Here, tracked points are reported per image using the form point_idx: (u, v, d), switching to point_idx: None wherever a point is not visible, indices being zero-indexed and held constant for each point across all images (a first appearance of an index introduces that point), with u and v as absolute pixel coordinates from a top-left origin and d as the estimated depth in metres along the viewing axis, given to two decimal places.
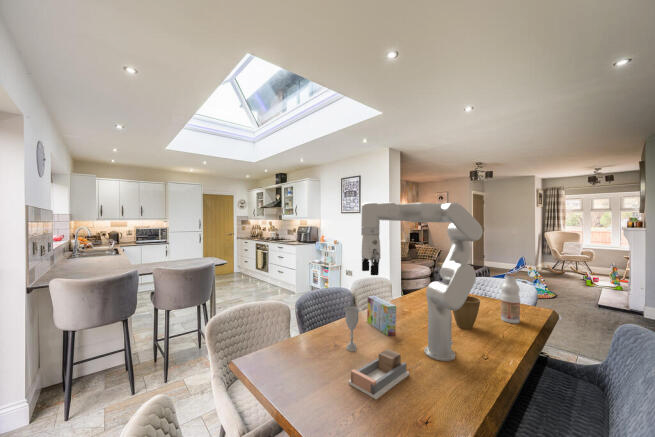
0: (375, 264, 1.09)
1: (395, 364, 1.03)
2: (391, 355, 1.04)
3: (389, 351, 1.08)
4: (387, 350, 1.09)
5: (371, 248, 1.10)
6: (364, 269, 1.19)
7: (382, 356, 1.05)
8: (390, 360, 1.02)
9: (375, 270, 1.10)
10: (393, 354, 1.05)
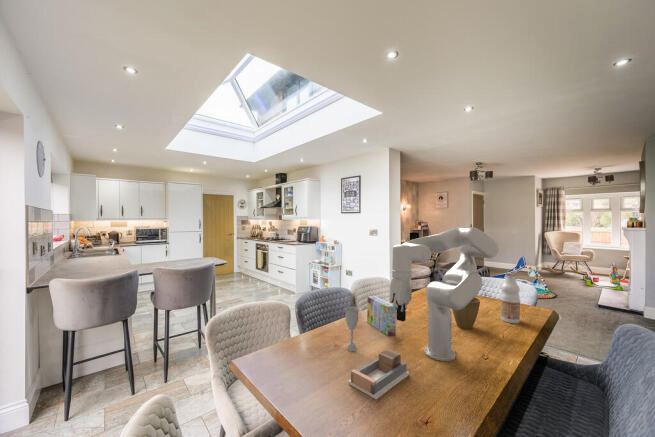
0: None
1: (395, 364, 1.03)
2: (391, 355, 1.04)
3: (389, 351, 1.08)
4: (387, 350, 1.09)
5: None
6: None
7: (382, 356, 1.05)
8: (390, 360, 1.02)
9: None
10: (393, 354, 1.05)
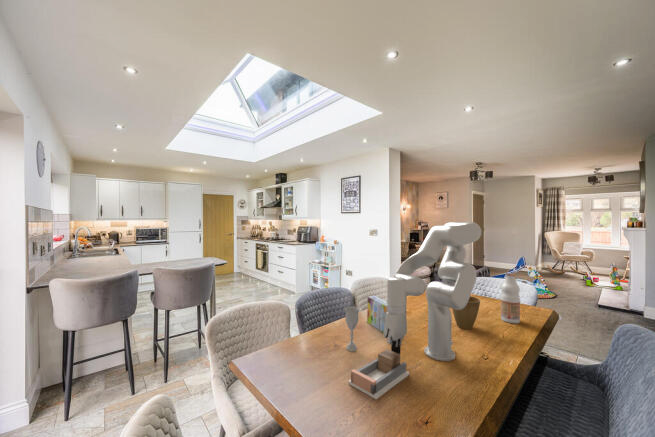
0: None
1: (395, 364, 1.03)
2: (391, 356, 1.04)
3: (389, 351, 1.07)
4: (387, 350, 1.09)
5: None
6: None
7: (382, 356, 1.04)
8: (390, 360, 1.02)
9: None
10: (393, 355, 1.05)
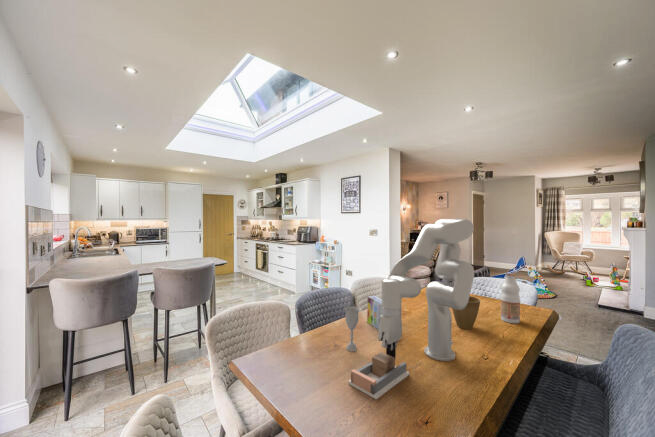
0: None
1: (389, 368, 1.00)
2: (385, 359, 1.01)
3: (383, 354, 1.05)
4: (381, 353, 1.06)
5: None
6: None
7: (376, 360, 1.02)
8: (384, 364, 0.99)
9: None
10: (387, 358, 1.02)
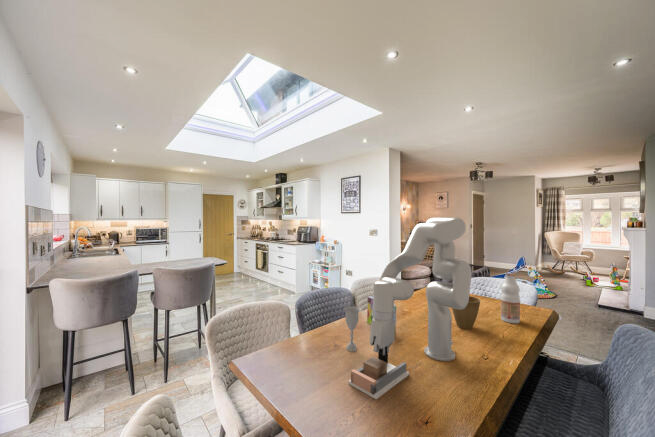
0: None
1: (381, 373, 0.97)
2: (377, 364, 0.98)
3: (375, 359, 1.01)
4: (373, 358, 1.02)
5: None
6: None
7: (367, 365, 0.98)
8: (375, 369, 0.95)
9: None
10: (379, 363, 0.98)
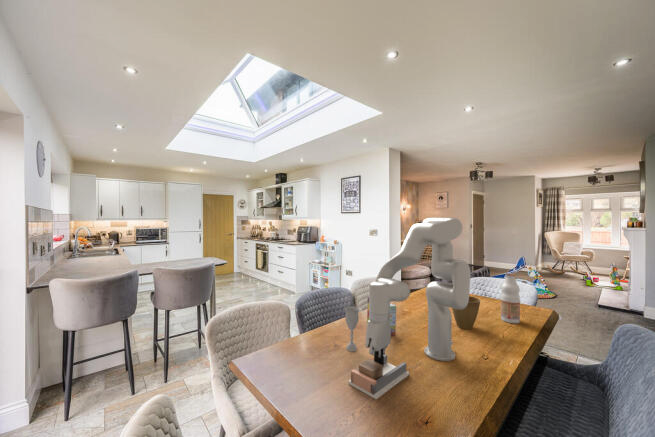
0: None
1: (377, 376, 0.95)
2: (372, 367, 0.96)
3: (370, 362, 0.99)
4: (369, 360, 1.00)
5: None
6: None
7: (362, 368, 0.96)
8: (370, 372, 0.94)
9: None
10: (375, 366, 0.97)
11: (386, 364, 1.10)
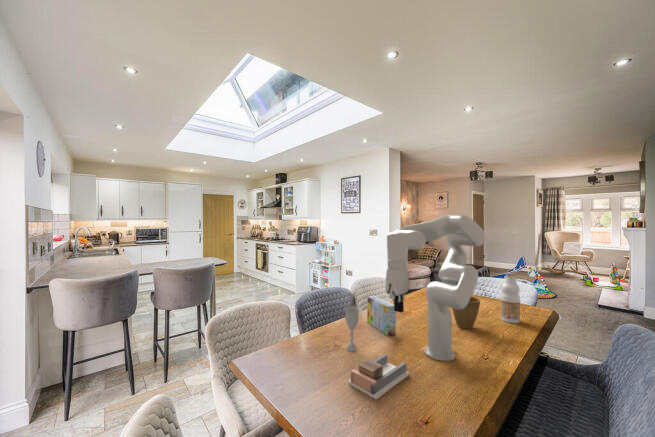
0: None
1: (377, 376, 0.95)
2: (372, 367, 0.96)
3: (370, 362, 0.99)
4: (369, 360, 1.00)
5: None
6: None
7: (362, 368, 0.96)
8: (370, 372, 0.94)
9: None
10: (375, 366, 0.97)
11: (386, 364, 1.10)
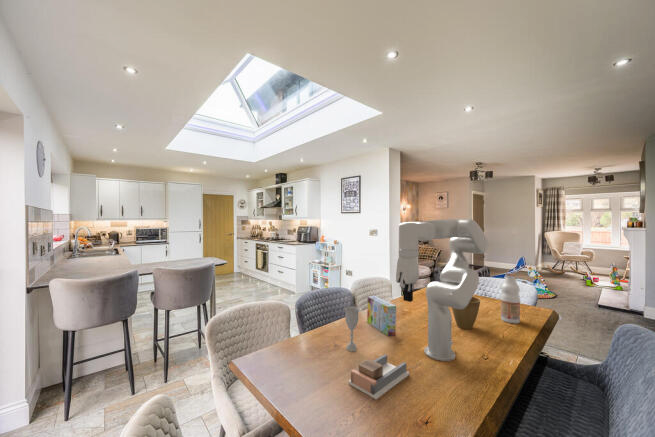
0: None
1: (377, 376, 0.95)
2: (372, 367, 0.96)
3: (370, 362, 0.99)
4: (369, 360, 1.00)
5: None
6: None
7: (362, 368, 0.96)
8: (370, 372, 0.94)
9: None
10: (375, 366, 0.97)
11: (386, 364, 1.10)
